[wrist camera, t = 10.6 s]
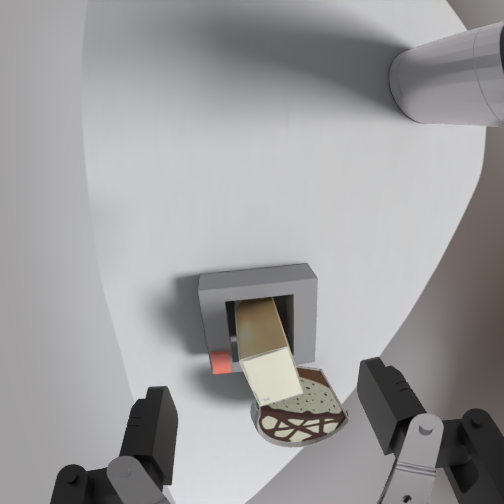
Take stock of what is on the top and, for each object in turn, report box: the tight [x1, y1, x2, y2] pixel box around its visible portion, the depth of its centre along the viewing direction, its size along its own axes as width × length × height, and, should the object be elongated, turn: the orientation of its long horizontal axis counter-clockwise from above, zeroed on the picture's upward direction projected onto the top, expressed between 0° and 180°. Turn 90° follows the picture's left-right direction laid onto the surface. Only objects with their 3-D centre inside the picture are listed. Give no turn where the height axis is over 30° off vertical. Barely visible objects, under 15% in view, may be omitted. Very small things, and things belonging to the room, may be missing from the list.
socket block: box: [198, 263, 318, 374], centre depth 35 cm, size 12×11×5 cm
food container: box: [250, 366, 350, 447], centre depth 37 cm, size 12×6×10 cm, turn 72°
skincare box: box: [234, 297, 303, 406], centre depth 31 cm, size 6×4×12 cm
